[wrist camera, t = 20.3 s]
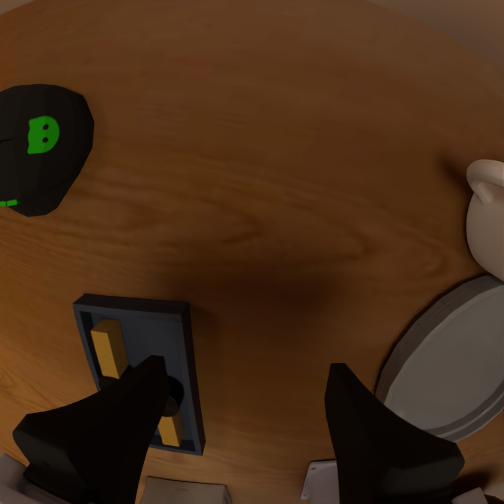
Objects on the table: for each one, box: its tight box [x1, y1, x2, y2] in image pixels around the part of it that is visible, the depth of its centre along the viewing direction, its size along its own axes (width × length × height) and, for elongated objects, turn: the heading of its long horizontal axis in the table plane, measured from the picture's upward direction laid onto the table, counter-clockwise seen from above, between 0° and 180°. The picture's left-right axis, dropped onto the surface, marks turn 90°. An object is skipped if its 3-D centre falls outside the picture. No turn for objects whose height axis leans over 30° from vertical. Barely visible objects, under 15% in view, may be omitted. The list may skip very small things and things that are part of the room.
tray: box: [73, 294, 206, 456], centre depth 23 cm, size 16×9×2 cm, turn 0°
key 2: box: [91, 318, 133, 390], centre depth 22 cm, size 7×3×2 cm, turn 0°
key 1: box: [158, 375, 185, 447], centre depth 23 cm, size 7×3×2 cm, turn 0°
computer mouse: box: [0, 84, 94, 217], centre depth 17 cm, size 11×16×4 cm
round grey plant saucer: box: [375, 275, 504, 443], centre depth 21 cm, size 19×19×3 cm
